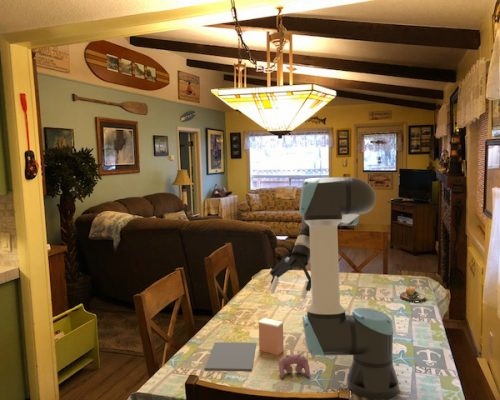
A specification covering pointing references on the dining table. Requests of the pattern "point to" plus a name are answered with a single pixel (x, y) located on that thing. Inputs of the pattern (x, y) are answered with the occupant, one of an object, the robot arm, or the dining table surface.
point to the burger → (412, 295)
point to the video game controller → (293, 359)
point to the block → (271, 336)
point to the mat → (231, 356)
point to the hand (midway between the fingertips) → (287, 294)
